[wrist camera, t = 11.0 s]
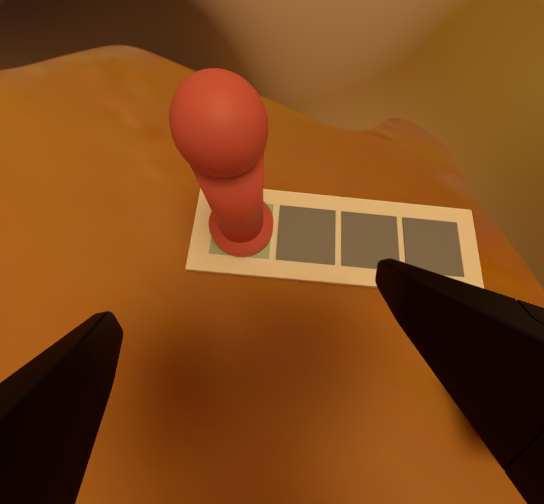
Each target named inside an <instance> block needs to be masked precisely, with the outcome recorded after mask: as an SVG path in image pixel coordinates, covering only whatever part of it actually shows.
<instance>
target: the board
mask: <svg viewBox="0 0 544 504" xmlns="http://www.w3.org/2000/svg"><path fill="white" fill-rule="evenodd" d="M263 201H264V202H265V203H266V204H267V205H268V207H269V208H270V210H271V212H272V215H273V232H272V237H271V239H270V241H269V243H268V244H267V246H266V247H265V248H264V249H263V250H262V251H260V252H259V253H257V254H255V255H253V256H249V257H235V256H231V255H229V254H227V253H225V252H223V251H222V250H221V249H220V248H219V247H218V246H217V244H216V243H215V241H214V240H213V238H212V236H211V234H210V231H209V217H210V214H211V209H210V206H209V204H208V202H207V200H206V198H205V196H204V194H203V191H202V189H201V188H200V194H199V199H198V204H197V210H196V215H195V220H194V226H193V231H192V236H191V242H190V247H189V253H188V258H187V263H186V270H187V271H195V272H206V273H217V274H228V275H239V276H250V277H261V278H272V279H283V280H294V281H305V282H316V283H327V284H338V285H349V286H360V287H371V288H378V287H377V285H376V282H375V277H376V270H377V264H378V262H379V261H380V260H383V259H388V258H392V259H395V260H398V261H401V262H404V263H407V264H410V265H413V266H416V267H419V268H422V269H425V270H428V271H432V272H435V273H438V274H441V275H444V276H447V277H450V278H453V279H456V280H459V281H462V282H465V283H468V284H471V285H474V286H477V287H480V288H483V289H484V285H483V279H482V273H481V267H480V261H479V254H478V248H477V242H476V236H475V230H474V223H473V217H472V211H471V210H467V209H457V208H447V207H437V206H427V205H417V204H407V203H397V202H387V201H377V200H367V199H358V198H348V197H338V196H328V195H318V194H308V193H298V192H288V191H278V190H268V189H263Z"/></svg>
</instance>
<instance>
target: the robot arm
mask: <svg viewBox="0 0 544 504" xmlns="http://www.w3.org/2000/svg"><path fill="white" fill-rule="evenodd" d="M375 282H376V285H377V287H378V289H379V291H380V292H381V294H382V296H383V298H384V299H385V301H386V303H387V305H388V306H389V308H390V310H391V312H392V314H393V315H394V317H395V319H396V320H397V322H398V323H399V325H400V326H401V328H402V329H403V330H404V332H405V333H406V335H407V336H408V337H409V339H410V340H411V342H412V343H413V344H414V346H415V347H416V349H417V350H418V351H419V353H420V354H421V356H422V357H423V358H424V360H425V361H426V362H427V364H428V365H429V367H430V368H431V369H432V371H433V372H434V374H435V375H436V376H437V378H438V379H439V381H440V382H441V383H442V385H443V386H444V388H445V389H446V390H447V392H448V393H449V395H450V396H451V397H452V399H453V400H454V402H455V403H456V404H457V406H458V407H459V409H460V410H461V411H462V413H463V414H464V416H465V417H466V418H467V420H468V421H469V422H470V424H471V425H472V427H473V428H474V429H475V431H476V432H477V434H478V435H479V436H480V438H481V439H482V441H483V442H484V443H485V445H486V446H487V448H488V449H489V450H490V452H491V453H492V455H493V456H494V457H495V459H496V460H497V462H498V463H499V464H500V466H501V467H502V469H503V470H505V473H506V475H507V476H508V477H509V479H510V480H511V481H512V483H513V484H514V486H515V487H516V488H517V490H518V491H519V493H520V494H521V495H522V497H523V498H524V500H525V501H526V502H527V504H544V308H542V307H539V306H536V305H533V304H529V303H526V302H523V301H520V300H517V301H516V299H514V298H511V297H508V296H505V295H502V294H499V293H496V292H493V291H490V290H487V289H483V288H480V287H477V286H474V285H471V284H468V283H465V282H462V281H459V280H456V279H453V278H450V277H447V276H444V275H441V274H438V273H435V272H432V271H428V270H425V269H422V268H419V267H416V266H413V265H410V264H407V263H404V262H401V261H398V260H395V259H392V258H388V259H383V260H380V261H379V262H378V264H377V270H376V277H375ZM122 339H123V330H122V328H121V326H120V324H119V323H118V321H117V319H116V318H115V316H114V314H113V313H112V312H110V311H107V312H101V313H96V314H94V315H93V316H91V317H90V318H89V319H87V320H86V321H85V322H83V323H82V324H80V325H79V326H78V327H76V328H75V329H74V330H72V331H71V332H69V333H68V334H67V335H65V336H64V337H63V338H61V339H60V340H59V341H57V342H56V343H54V344H53V345H52V346H50V347H49V348H48V349H46V350H45V351H43V352H42V353H41V354H39V355H38V356H37V357H35V358H34V359H32V360H31V361H30V362H28V363H27V364H26V365H24V366H23V367H21V368H20V369H19V370H17V371H16V372H15V373H13V374H12V375H11V376H9V377H8V378H6V379H5V380H4V381H2V382H1V383H0V504H75V502H76V499H77V496H78V493H79V489H80V486H81V483H82V480H83V477H84V474H85V471H86V467H87V464H88V461H89V458H90V455H91V452H92V449H93V445H94V442H95V439H96V436H97V433H98V430H99V427H100V423H101V420H102V417H103V414H104V411H105V408H106V405H107V402H108V398H109V395H110V392H111V389H112V385H113V382H114V378H115V373H116V368H117V363H118V358H119V353H120V349H121V344H122Z"/></svg>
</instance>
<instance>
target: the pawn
mask: <svg viewBox="0 0 544 504" xmlns="http://www.w3.org/2000/svg"><path fill="white" fill-rule="evenodd" d="M169 122H170V129H171V134H172V137H173V140H174V142H175V145H176V147H177V148H178V150H179V152H180V153H181V155H182V156H183V157H184V158H185V160H186V161H187V162H188V163H189V164H190V166H191V168H192V170H193V172H194V174H195V177H196V179H197V181H198V183H199V185H200V187H201V189H202V191H203V194H204V196H205V198H206V200H207V202H208V204H209V206H210V209H211V214H210V217H209V231H210V234H211V236H212V238H213V240H214V241H215V243H216V244H217V246H218V247H219V248H220V249H221V250H222V251H223V252H225V253H227V254H229V255H231V256H235V257H249V256H253V255H255V254H257V253H259V252H260V251H262V250H263V249H264V248H265V247H266V246H267V244H268V243H269V241H270V239H271V237H272V232H273V215H272V212H271V210H270V208H269V207H268V205H267V204H266V203H265V202H264V201H263V175H264V149H265V146H266V143H267V138H268V119H267V114H266V110H265V107H264V105H263V102H262V100H261V98H260V96H259V95H258V93H257V92H256V91H255V89H254V88H253V87H252V86H251V85H250V84H249V83H248V82H247V81H246V80H245V79H243V78H242V77H241V76H239V75H237V74H235V73H233V72H230V71H228V70H224V69H218V68H211V69H204V70H200V71H197V72H195V73H193V74H192V75H190V76H189V77H187V78H186V79H185V80H184V81H183V82H182V83H181V84H180V86H179V87H178V89H177V90H176V92H175V94H174V96H173V99H172V102H171V106H170V113H169Z"/></svg>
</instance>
